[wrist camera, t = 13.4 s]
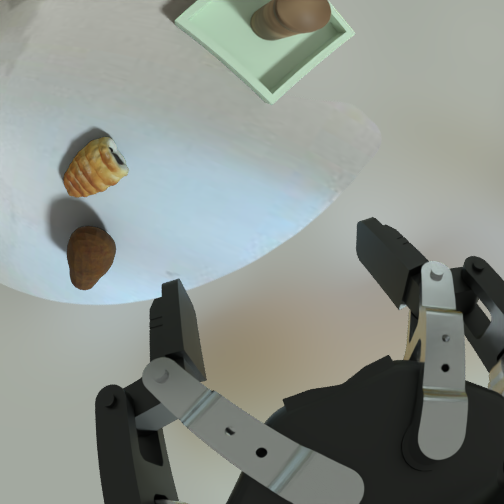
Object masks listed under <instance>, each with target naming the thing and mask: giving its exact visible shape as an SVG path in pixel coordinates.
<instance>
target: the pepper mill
mask: <svg viewBox="0 0 504 504" xmlns="http://www.w3.org/2000/svg"><path fill="white" fill-rule="evenodd" d="M330 17H331V7H330V4H329V2H328V0H271V1H270V2H268V3H267V4H265V5H264V6H262V7H261V8H259V9H258V10H257V11H255V12H254V14H253V15H252V17H251V20H250V25H251V28H252V30H253V32H254V33H255V34H256V35H257V36H258V37H260V38H262V39H264V40H268V41H274V40H279V39H282V38H286V37H290V36H293V35H297V34H303V33H310V32H314V31H316V30H319V29H321V28H323V27H324V26H325V25H326V24H327V23H328V22H329V20H330Z"/></svg>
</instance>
